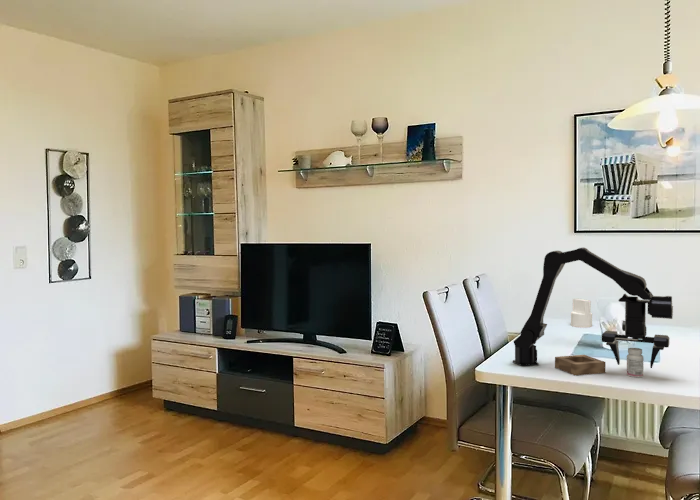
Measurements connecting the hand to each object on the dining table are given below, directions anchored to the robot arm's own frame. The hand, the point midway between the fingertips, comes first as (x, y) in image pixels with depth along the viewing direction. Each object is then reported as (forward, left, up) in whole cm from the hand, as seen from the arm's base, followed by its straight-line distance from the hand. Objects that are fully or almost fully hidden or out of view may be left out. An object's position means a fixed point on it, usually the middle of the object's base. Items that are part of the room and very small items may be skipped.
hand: (634, 366), depth 189 cm
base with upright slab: (+37, +80, -3) cm, 88 cm away
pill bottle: (0, 0, -3) cm, 3 cm away
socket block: (-12, +11, -3) cm, 16 cm away
